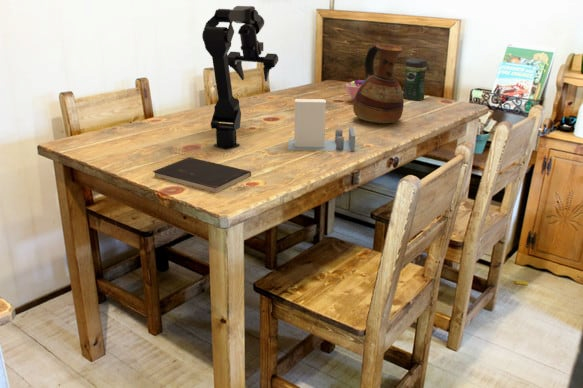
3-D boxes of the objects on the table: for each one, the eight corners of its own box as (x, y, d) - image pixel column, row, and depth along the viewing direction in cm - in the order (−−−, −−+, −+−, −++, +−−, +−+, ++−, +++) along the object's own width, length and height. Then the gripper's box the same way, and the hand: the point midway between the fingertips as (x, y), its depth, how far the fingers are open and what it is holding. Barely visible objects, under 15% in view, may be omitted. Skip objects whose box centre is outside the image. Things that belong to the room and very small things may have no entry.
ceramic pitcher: (379, 130, 207) (385, 48, 196) (341, 119, 221) (345, 42, 210) (412, 122, 218) (419, 44, 207) (375, 112, 233) (379, 39, 221)
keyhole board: (287, 152, 179) (287, 134, 177) (289, 142, 191) (289, 125, 188) (355, 154, 179) (356, 136, 177) (352, 143, 190) (353, 126, 188)
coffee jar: (426, 99, 259) (430, 58, 252) (417, 101, 253) (421, 60, 247) (409, 95, 265) (412, 56, 258) (399, 98, 260) (403, 58, 253)
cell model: (338, 99, 257) (340, 74, 253) (377, 96, 262) (379, 73, 258) (353, 107, 242) (354, 81, 238) (394, 104, 247) (396, 79, 243)
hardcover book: (215, 195, 146) (215, 187, 145) (153, 178, 157) (152, 171, 157) (251, 177, 159) (251, 170, 158) (191, 163, 170) (190, 156, 169)
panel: (294, 146, 183) (294, 101, 177) (294, 142, 187) (295, 98, 181) (324, 147, 182) (325, 102, 177) (324, 143, 186) (325, 99, 181)
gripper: (280, 32, 198) (284, 71, 208) (232, 30, 203) (238, 68, 213) (271, 46, 190) (276, 85, 200) (221, 43, 195) (228, 82, 205)
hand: (254, 80), depth 205 cm, fingers open, 9 cm apart
